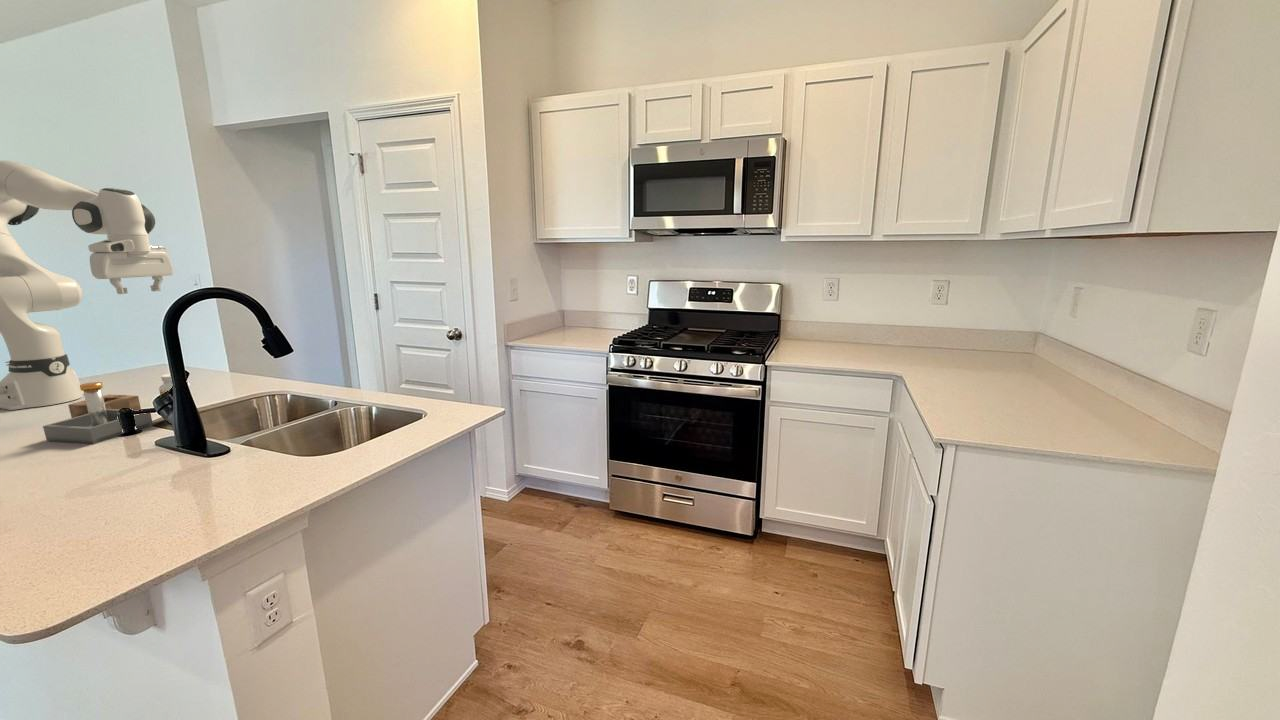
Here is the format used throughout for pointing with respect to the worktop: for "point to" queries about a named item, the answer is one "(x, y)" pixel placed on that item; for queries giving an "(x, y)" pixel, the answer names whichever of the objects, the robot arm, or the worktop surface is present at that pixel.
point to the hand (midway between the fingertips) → (139, 292)
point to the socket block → (107, 404)
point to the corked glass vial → (95, 403)
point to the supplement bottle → (167, 384)
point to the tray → (91, 428)
